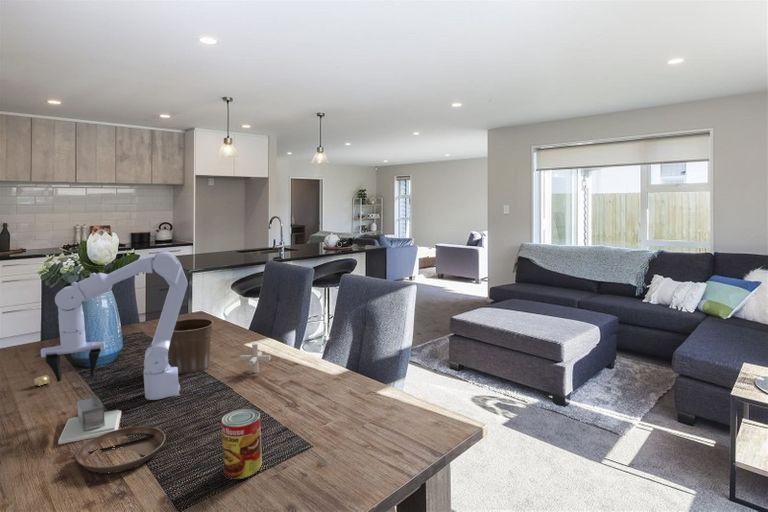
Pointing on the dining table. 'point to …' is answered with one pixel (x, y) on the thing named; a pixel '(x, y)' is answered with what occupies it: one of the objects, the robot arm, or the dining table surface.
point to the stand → (76, 432)
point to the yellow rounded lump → (42, 380)
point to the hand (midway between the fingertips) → (76, 377)
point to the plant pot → (191, 345)
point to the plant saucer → (139, 446)
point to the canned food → (241, 443)
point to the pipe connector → (255, 358)
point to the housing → (90, 413)
